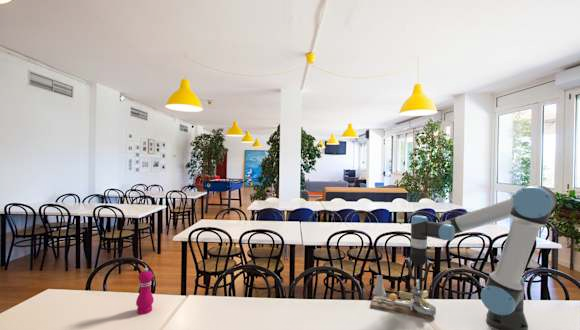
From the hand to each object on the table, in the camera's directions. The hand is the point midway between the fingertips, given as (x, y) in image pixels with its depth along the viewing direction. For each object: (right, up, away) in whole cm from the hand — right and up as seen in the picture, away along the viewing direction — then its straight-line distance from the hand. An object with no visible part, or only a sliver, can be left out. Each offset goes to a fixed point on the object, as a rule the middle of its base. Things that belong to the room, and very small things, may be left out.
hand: (417, 293), depth 149 cm
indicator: (-10, -4, -3) cm, 11 cm away
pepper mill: (-132, -3, -12) cm, 132 cm away
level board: (-10, -6, -3) cm, 12 cm away
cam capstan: (-1, -5, -5) cm, 7 cm away
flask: (-16, -6, +12) cm, 21 cm away
